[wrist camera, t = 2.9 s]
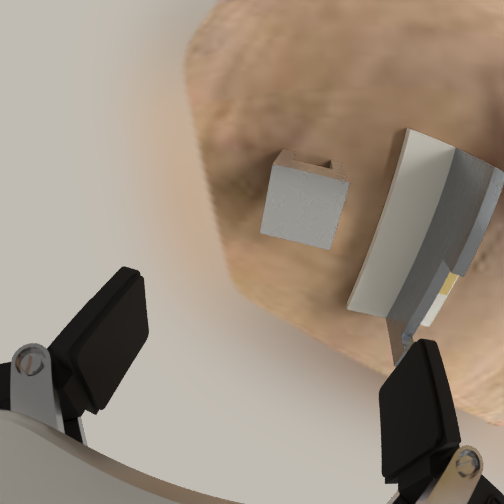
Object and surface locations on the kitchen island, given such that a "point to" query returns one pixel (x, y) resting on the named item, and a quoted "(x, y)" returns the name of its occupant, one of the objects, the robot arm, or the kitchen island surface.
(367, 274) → the base board
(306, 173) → the clip
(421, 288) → the rail
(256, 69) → the kitchen island surface
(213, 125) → the kitchen island surface
